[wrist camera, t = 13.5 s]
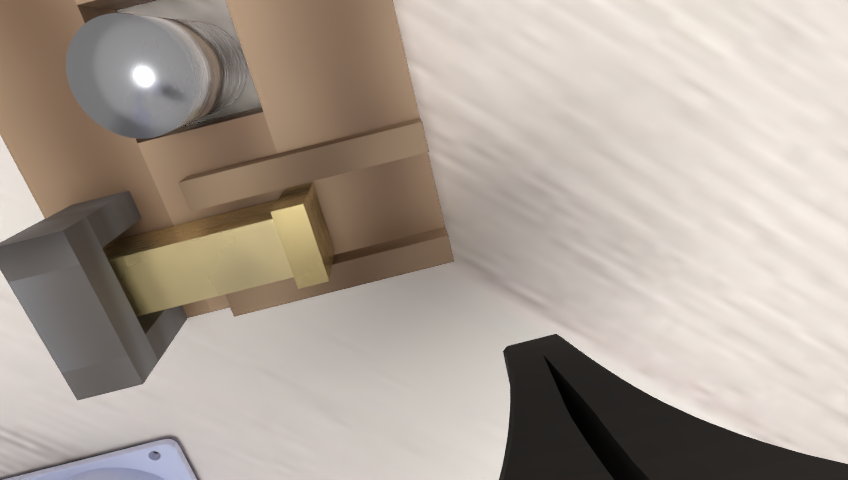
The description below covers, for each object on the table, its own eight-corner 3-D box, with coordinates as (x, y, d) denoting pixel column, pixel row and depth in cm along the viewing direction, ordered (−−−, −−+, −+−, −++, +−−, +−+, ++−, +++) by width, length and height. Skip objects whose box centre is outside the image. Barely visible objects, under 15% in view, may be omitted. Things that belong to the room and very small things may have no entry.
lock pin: (118, 304, 19) (80, 343, 16) (84, 239, 18) (39, 269, 15) (334, 250, 19) (329, 280, 16) (312, 181, 18) (303, 203, 15)
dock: (137, 305, 21) (45, 408, 15) (-18, -7, 17) (-232, -34, 11) (442, 229, 22) (469, 302, 15) (365, -102, 17) (360, -181, 11)
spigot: (192, 125, 19) (118, 158, 14) (140, 47, 18) (38, 49, 13) (262, 87, 19) (217, 105, 13) (215, 6, 18) (144, -11, 12)
